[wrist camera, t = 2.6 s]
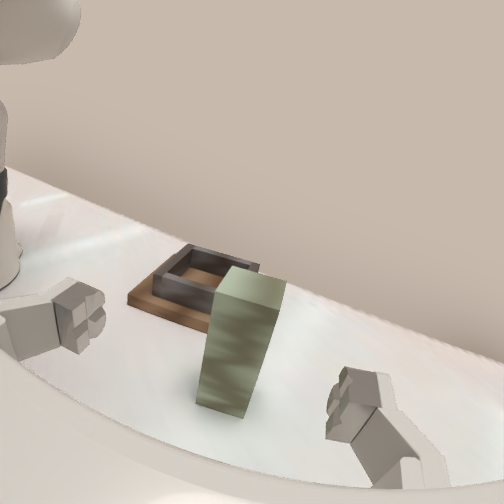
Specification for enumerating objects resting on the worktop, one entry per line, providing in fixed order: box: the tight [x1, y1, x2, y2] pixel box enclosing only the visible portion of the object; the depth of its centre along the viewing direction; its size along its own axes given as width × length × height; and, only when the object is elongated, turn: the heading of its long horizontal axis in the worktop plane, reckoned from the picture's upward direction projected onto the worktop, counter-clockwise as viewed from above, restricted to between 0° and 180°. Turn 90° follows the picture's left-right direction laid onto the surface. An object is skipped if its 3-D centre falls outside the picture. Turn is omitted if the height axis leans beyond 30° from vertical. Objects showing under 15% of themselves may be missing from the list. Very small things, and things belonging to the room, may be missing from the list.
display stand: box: [128, 244, 260, 333], centre depth 40 cm, size 16×14×4 cm
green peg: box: [196, 266, 287, 418], centre depth 24 cm, size 4×4×12 cm
